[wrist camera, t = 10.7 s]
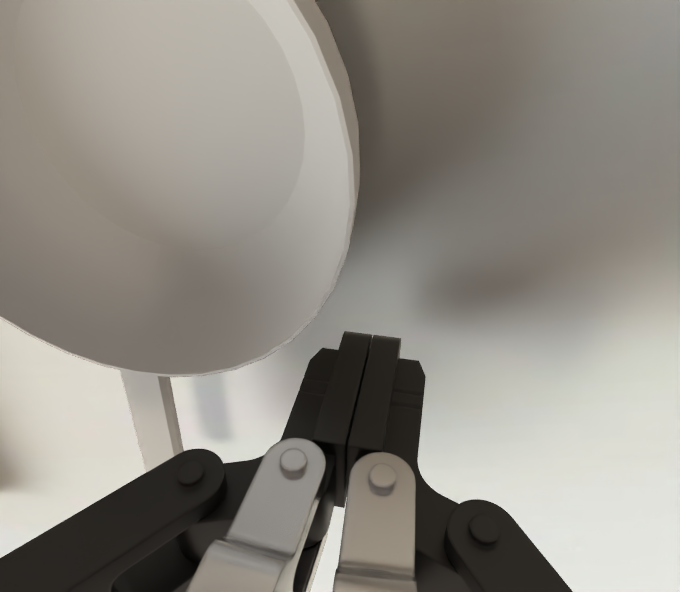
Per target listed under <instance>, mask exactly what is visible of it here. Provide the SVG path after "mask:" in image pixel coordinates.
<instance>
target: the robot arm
mask: <svg viewBox="0 0 680 592" xmlns="http://www.w3.org/2000/svg"><path fill="white" fill-rule="evenodd" d="M400 347H401V338H394V337H386V336H378V335H373V339H372V335H370V334H362V333H355V332H347V331H345V332H344V334H343V337H342V340H341V343H340V347H339V350H334V349H327V348H322V349H321V350H320V351H319V352H318V353H317V354H316V355H315V356H314V357H313V358H312V359H311V360H310V362H309V364H308V367H307V370H306V373H305V375H304V378H303V381H302V384H301V386H300V391H299V392H298V395H297V397H296V400H295V403H294V406H293V408H292V411H291V414H290V417H289V419H288V422H287V425H286V428H285V430H284V433H283V436H282V438H281V440H280V441H279V442H278V443H276V444H274V445H273V446H272V447H271V448H270V449H269V450H268V451H267V452H266V454H265V455H263V456H261V457H259V458H256V459H253V460H248V461H240V462H232V463H224V464H223V462H222V460H221V459H220V457H219V456H218V455H217V454H215V453H214V452H211V451H209V450H205V449H191V450H187V451H184V452H181V453H179V454H177V455H176V456H174V457H172V458H170V459H169V460H167V461H165V462H164V463H162V464H160V465H158V466H157V467H155V468H153V469H152V470H150V471H148V472H147V473H145V474H143V475H141V476H140V477H138V478H136V479H135V480H133V481H131V482H130V483H128V484H126V485H124V486H123V487H121V488H119V489H118V490H116V491H114V492H113V493H111V494H109V495H107V496H106V497H104V498H102V499H101V500H99V501H97V502H95V503H94V504H92V505H90V506H89V507H87V508H85V509H84V510H82V511H80V512H78V513H77V514H75V515H73V516H72V517H70V518H68V519H67V520H65V521H63V522H61V523H60V524H58V525H56V526H55V527H53V528H51V529H49V530H48V531H46V532H44V533H43V534H41V535H39V536H38V537H36V538H34V539H32V540H31V541H29V542H27V543H26V544H24V545H22V546H21V547H19V548H17V549H15V550H14V551H12V552H10V553H9V554H7V555H5V556H4V557H2V558H0V592H310V590H311V587H312V584H313V580H314V577H315V574H316V571H317V568H318V564H319V561H320V558H321V555H322V552H323V549H324V545H325V542H326V539H327V531H328V528H329V525H330V520H331V516H332V512H333V507H334V506H338V507H343V508H344V507H345V502H346V509H345V516H344V524H343V532H342V540H341V547H340V555H339V562H338V567H337V569H336V573H335V578H334V584H333V592H572V590H571V589H570V588H569V587H568V585H567V584H566V583H565V582H564V581H563V579H562V578H561V577H560V576H559V574H558V573H557V572H556V571H555V570H554V568H553V567H552V566H551V565H550V563H549V562H548V561H547V560H546V559H545V557H544V556H543V555H542V554H541V552H540V551H539V550H538V549H537V548H536V546H535V545H534V544H533V543H532V541H531V540H530V539H529V538H528V537H527V535H526V534H525V533H524V532H523V530H522V529H521V528H520V527H519V526H518V524H517V523H516V522H515V521H514V519H513V518H512V517H511V516H510V515H509V514H508V513H507V512H506V511H505V510H504V509H502V508H501V507H499V506H498V505H496V504H494V503H491V502H488V501H485V500H468V501H465V502H462V503H460V504H458V503H456V502H454V501H452V500H450V499H448V498H446V497H444V496H442V495H440V494H439V493H437V492H436V491H434V490H433V489H432V488H431V487H430V486H429V485H428V484H427V483H426V482H425V481H424V479H423V478H422V476H421V474H420V471H419V469H418V463H417V457H418V447H419V437H420V427H421V417H422V407H423V397H424V387H425V374H424V372H423V370H422V367H421V365H420V363H419V361H415V360H408V359H400ZM346 497H347V501H346Z"/></svg>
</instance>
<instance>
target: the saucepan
mask: <svg viewBox="0 0 680 592" xmlns="http://www.w3.org/2000/svg"><path fill="white" fill-rule="evenodd" d="M359 186H360V154H359V127H358V120H357V115H356V110H355V106H354V101H353V96H352V91H351V87H350V82H349V77H348V74H347V71H346V68H345V66H344V63H343V61H342V58H341V55H340V53H339V50H338V48H337V45H336V43H335V40H334V37H333V35H332V32H331V30H330V27H329V24H328V22H327V21H326V19H325V17H324V16H323V14H322V12H321V10H320V9H319V7H318V5H317V3H316V2H315V0H0V319H2V320H4V321H5V322H7V323H9V324H11V325H12V326H14V327H16V328H17V329H19V330H21V331H22V332H24V333H26V334H27V335H29V336H31V337H33V338H35V339H37V340H39V341H41V342H43V343H45V344H48V345H50V346H52V347H54V348H56V349H58V350H60V351H63V352H65V353H67V354H69V355H72V356H75V357H78V358H81V359H84V360H87V361H90V362H92V363H95V364H98V365H101V366H105V367H109V368H114V369H118V370H120V373H121V377H122V381H123V385H124V389H125V393H126V396H127V400H128V404H129V408H130V412H131V416H132V420H133V424H134V427H135V431H136V435H137V439H138V443H139V447H140V451H141V454H142V458H143V462H144V466H145V470H146V473H147V472H148V471H150V470H152V469H153V468H155V467H157V466H158V465H160V464H162V463H164V462H165V461H167V460H169V459H170V458H172V457H174V456H176V455H177V454H179V453H181V452H184V450H183V445H182V439H181V434H180V429H179V424H178V418H177V413H176V408H175V403H174V397H173V392H172V387H171V382H170V377H188V376H206V375H211V374H216V373H221V372H226V371H231V370H236V369H238V368H241V367H243V366H246V365H248V364H251V363H253V362H256V361H259V360H261V359H264V358H266V357H267V356H269V355H270V354H272V353H273V352H275V351H277V350H278V349H280V348H281V347H283V346H284V345H286V344H288V343H289V342H291V341H292V340H293V339H294V338H295V337H296V336H297V335H298V334H299V333H300V332H301V331H302V330H303V329H304V328H305V327H306V326H307V325H308V324H309V323H310V322H311V321H312V320H313V319H314V318H315V317H316V316H317V314H318V313H319V311H320V309H321V308H322V306H323V305H324V303H325V302H326V300H327V299H328V297H329V295H330V294H331V292H332V291H333V289H334V288H335V285H336V283H337V280H338V277H339V274H340V272H341V269H342V266H343V263H344V261H345V258H346V255H347V253H348V250H349V246H350V239H351V233H352V230H353V227H354V220H355V213H356V206H357V200H358V193H359Z"/></svg>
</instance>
